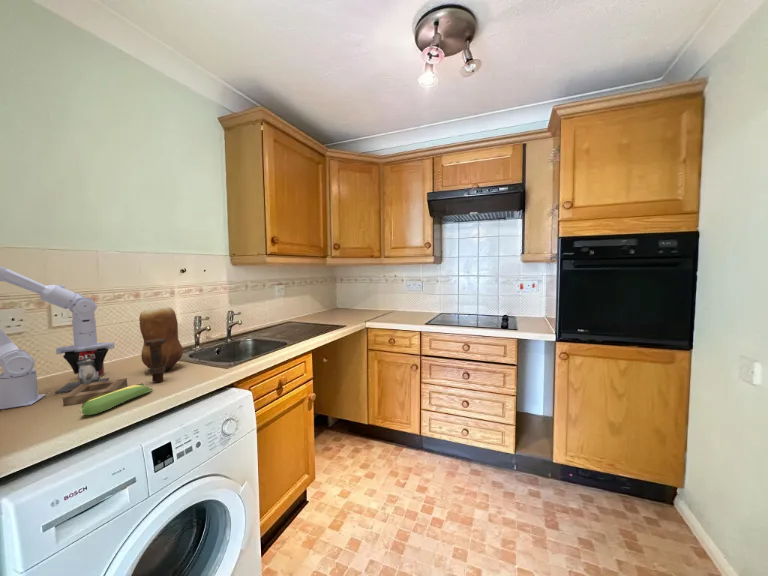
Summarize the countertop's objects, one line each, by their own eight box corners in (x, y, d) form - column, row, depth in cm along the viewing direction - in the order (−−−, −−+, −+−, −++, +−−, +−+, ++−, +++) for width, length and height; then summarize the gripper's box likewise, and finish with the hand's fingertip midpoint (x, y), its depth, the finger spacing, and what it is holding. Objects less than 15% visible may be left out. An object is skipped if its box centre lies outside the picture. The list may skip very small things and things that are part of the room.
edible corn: (74, 418, 85) (73, 402, 84) (147, 390, 104) (146, 376, 104) (88, 420, 83) (86, 404, 83) (159, 391, 103) (158, 378, 102)
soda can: (105, 376, 117) (103, 345, 117) (78, 382, 112) (75, 349, 111) (103, 372, 122) (100, 342, 122) (77, 377, 117) (74, 345, 116)
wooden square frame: (63, 406, 92) (62, 397, 92) (81, 391, 103) (81, 384, 103) (115, 398, 97) (114, 390, 97) (127, 385, 108) (126, 378, 108)
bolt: (165, 377, 115) (162, 337, 114) (170, 380, 112) (167, 339, 111) (146, 382, 110) (143, 340, 109) (150, 385, 107) (147, 342, 106)
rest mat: (55, 393, 102) (55, 392, 101) (69, 384, 110) (68, 382, 110) (99, 387, 106) (99, 386, 106) (109, 379, 114) (108, 377, 114)
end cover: (75, 386, 103) (72, 362, 103) (82, 382, 108) (79, 359, 108) (97, 382, 106) (94, 359, 105) (103, 378, 111) (100, 356, 110)
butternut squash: (150, 366, 129) (146, 306, 127) (188, 362, 133) (184, 304, 131) (135, 377, 116) (130, 310, 114) (177, 373, 120) (173, 308, 118)
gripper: (49, 337, 99) (53, 379, 100) (107, 332, 106) (111, 371, 106) (60, 333, 106) (64, 372, 107) (115, 328, 112) (118, 366, 113)
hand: (88, 371), depth 107 cm, fingers closed on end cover, 5 cm apart
